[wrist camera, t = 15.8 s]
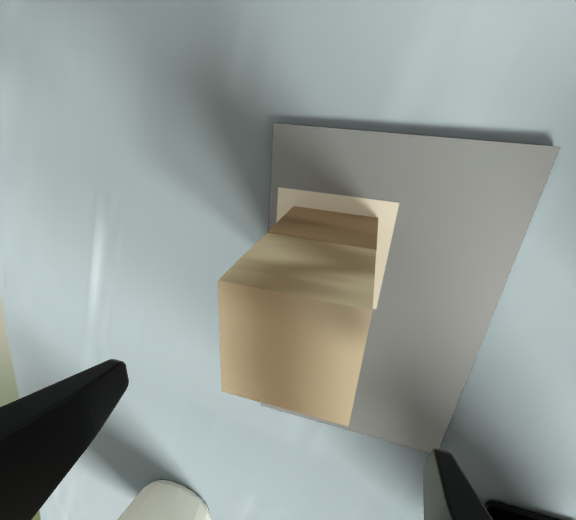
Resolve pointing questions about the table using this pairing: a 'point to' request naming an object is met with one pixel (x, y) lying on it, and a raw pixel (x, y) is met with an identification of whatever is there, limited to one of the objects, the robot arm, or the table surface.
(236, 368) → the block
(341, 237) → the block
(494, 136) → the table surface
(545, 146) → the board
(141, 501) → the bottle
